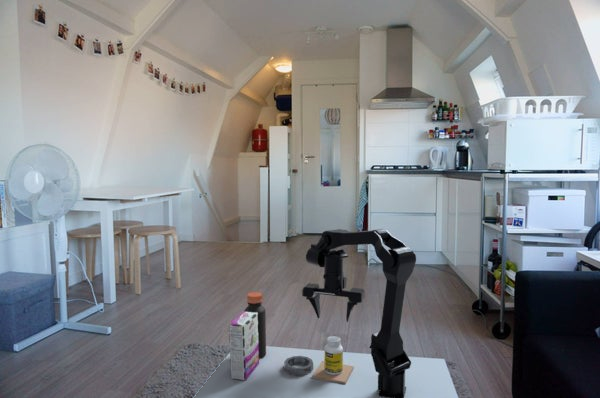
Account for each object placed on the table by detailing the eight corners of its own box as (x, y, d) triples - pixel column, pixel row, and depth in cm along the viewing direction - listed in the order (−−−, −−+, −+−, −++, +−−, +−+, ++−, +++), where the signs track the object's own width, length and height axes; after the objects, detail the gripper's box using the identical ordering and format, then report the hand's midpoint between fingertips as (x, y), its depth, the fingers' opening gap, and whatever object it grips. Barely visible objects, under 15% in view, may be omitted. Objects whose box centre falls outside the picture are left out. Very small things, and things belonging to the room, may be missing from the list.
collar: (316, 364, 129) (316, 358, 129) (307, 377, 121) (307, 370, 121) (290, 360, 132) (290, 354, 132) (280, 372, 124) (280, 366, 124)
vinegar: (269, 352, 138) (268, 292, 136) (260, 361, 132) (259, 298, 130) (251, 349, 140) (250, 290, 139) (241, 357, 134) (240, 296, 133)
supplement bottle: (323, 374, 121) (323, 341, 121) (325, 365, 127) (325, 334, 126) (341, 376, 120) (342, 343, 120) (343, 367, 126) (343, 335, 125)
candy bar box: (244, 362, 131) (243, 310, 130) (259, 364, 130) (258, 312, 129) (229, 379, 120) (228, 323, 119) (245, 381, 119) (244, 325, 118)
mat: (353, 368, 127) (353, 366, 126) (345, 384, 117) (345, 381, 117) (322, 362, 130) (322, 361, 130) (311, 377, 121) (311, 375, 121)
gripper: (368, 266, 134) (367, 314, 135) (312, 262, 140) (312, 307, 141) (361, 275, 123) (360, 327, 124) (301, 270, 129) (301, 319, 131)
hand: (333, 319), depth 130 cm, fingers open, 9 cm apart
